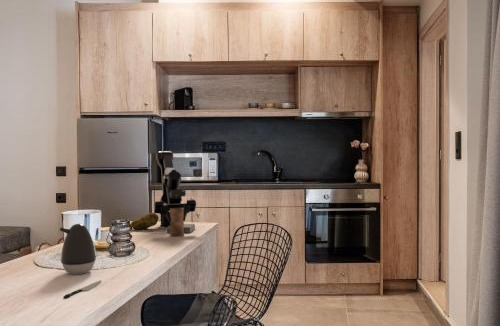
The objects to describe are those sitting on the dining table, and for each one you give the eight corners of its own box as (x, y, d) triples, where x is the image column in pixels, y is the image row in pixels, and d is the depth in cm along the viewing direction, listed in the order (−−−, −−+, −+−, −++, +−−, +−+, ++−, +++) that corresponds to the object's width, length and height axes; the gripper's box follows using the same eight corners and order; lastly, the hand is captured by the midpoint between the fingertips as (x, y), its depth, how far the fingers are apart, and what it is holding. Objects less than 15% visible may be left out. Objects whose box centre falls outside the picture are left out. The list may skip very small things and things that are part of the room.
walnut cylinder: (168, 236, 215) (168, 209, 215) (172, 234, 221) (171, 207, 221) (182, 236, 214) (181, 209, 214) (185, 234, 220) (184, 207, 220)
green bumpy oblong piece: (136, 227, 242) (135, 211, 242) (160, 228, 240) (160, 212, 240) (129, 230, 234) (128, 213, 234) (154, 230, 232) (154, 214, 231)
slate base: (166, 232, 225) (166, 227, 225) (172, 229, 236) (172, 223, 236) (190, 232, 224) (190, 227, 224) (194, 229, 235) (194, 223, 235)
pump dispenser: (60, 270, 153) (59, 222, 153) (94, 267, 157) (93, 220, 157) (61, 278, 144) (60, 227, 144) (97, 274, 148) (96, 224, 148)
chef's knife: (111, 281, 141) (102, 280, 142) (111, 277, 141) (102, 276, 142) (72, 300, 123) (62, 299, 123) (73, 296, 123) (62, 295, 123)
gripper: (154, 183, 218) (157, 210, 208) (195, 182, 224) (200, 208, 213) (152, 199, 226) (155, 226, 216) (192, 197, 231) (197, 224, 221)
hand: (177, 221), depth 216 cm, fingers closed on walnut cylinder, 6 cm apart
